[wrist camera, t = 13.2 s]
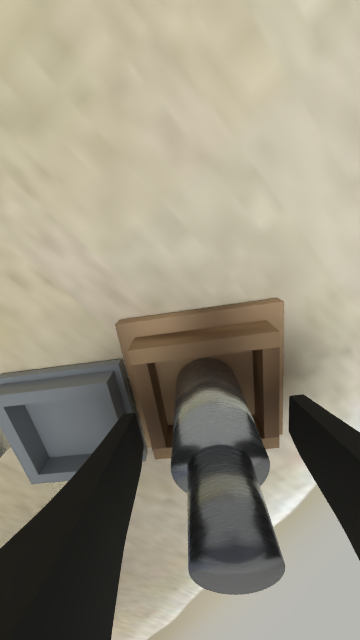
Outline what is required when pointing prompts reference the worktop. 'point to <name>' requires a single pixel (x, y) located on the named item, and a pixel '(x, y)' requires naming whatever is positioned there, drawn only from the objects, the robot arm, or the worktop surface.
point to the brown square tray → (206, 342)
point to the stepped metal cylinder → (222, 482)
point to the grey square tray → (62, 415)
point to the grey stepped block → (3, 443)
